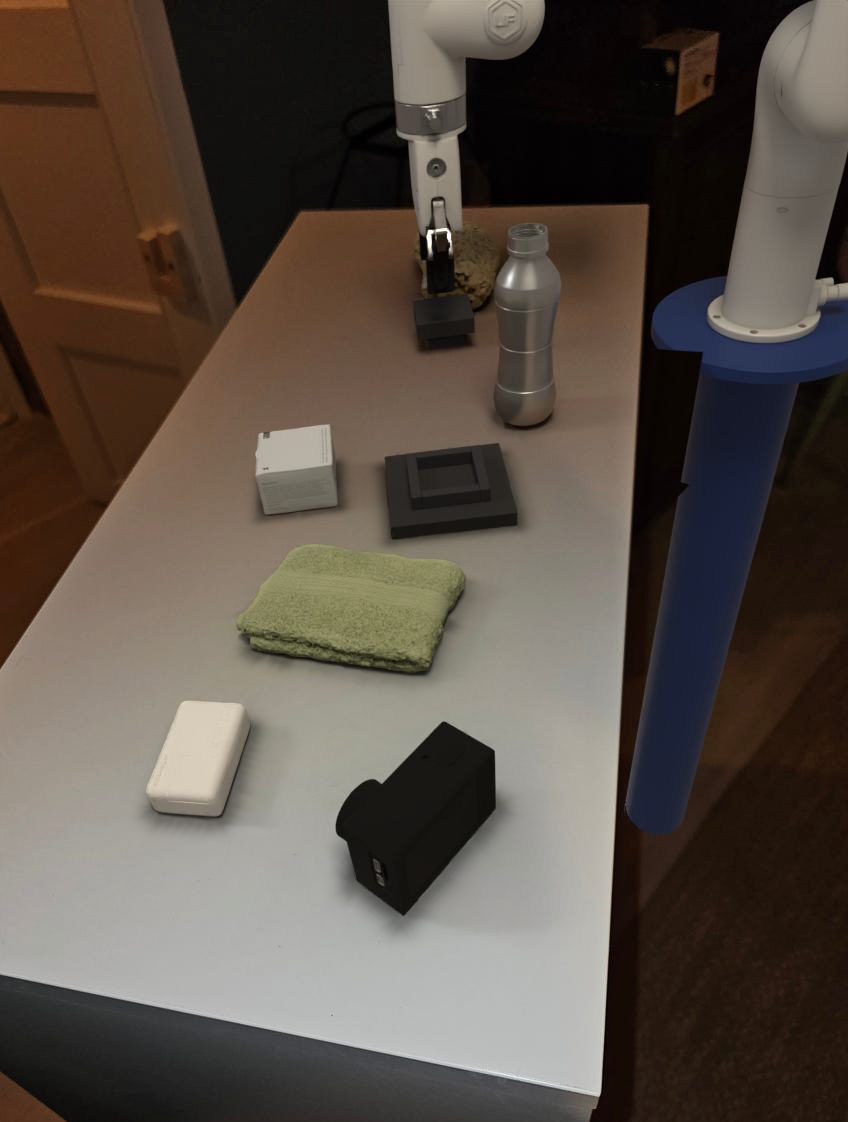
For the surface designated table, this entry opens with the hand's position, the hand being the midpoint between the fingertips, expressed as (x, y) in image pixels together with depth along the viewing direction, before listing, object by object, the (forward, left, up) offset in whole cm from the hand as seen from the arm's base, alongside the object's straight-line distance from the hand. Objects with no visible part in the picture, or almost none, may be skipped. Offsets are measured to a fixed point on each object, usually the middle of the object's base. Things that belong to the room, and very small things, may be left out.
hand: (437, 274), depth 104 cm
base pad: (+3, +33, -8) cm, 34 cm away
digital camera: (+9, +72, -9) cm, 73 cm away
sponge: (-3, -16, -9) cm, 18 cm away
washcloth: (+13, +49, -9) cm, 51 cm away
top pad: (0, 0, -8) cm, 8 cm away
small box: (+18, +29, -9) cm, 35 cm away
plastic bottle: (-7, +21, -9) cm, 23 cm away
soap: (+25, +64, -9) cm, 69 cm away
